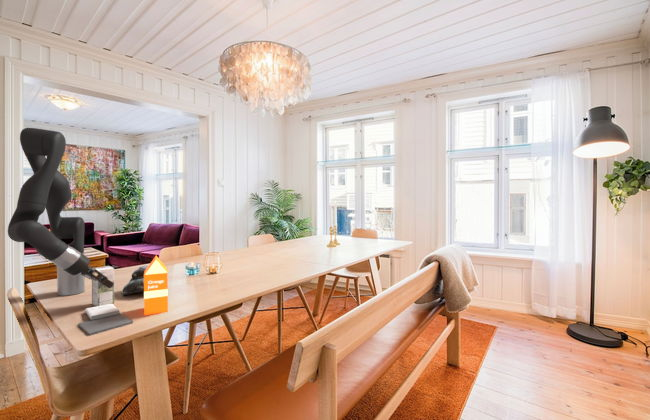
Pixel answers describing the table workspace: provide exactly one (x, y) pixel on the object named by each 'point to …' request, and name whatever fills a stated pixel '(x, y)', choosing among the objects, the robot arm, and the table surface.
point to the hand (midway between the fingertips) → (107, 284)
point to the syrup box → (103, 288)
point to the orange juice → (155, 288)
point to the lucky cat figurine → (135, 282)
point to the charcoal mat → (104, 324)
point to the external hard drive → (102, 311)
